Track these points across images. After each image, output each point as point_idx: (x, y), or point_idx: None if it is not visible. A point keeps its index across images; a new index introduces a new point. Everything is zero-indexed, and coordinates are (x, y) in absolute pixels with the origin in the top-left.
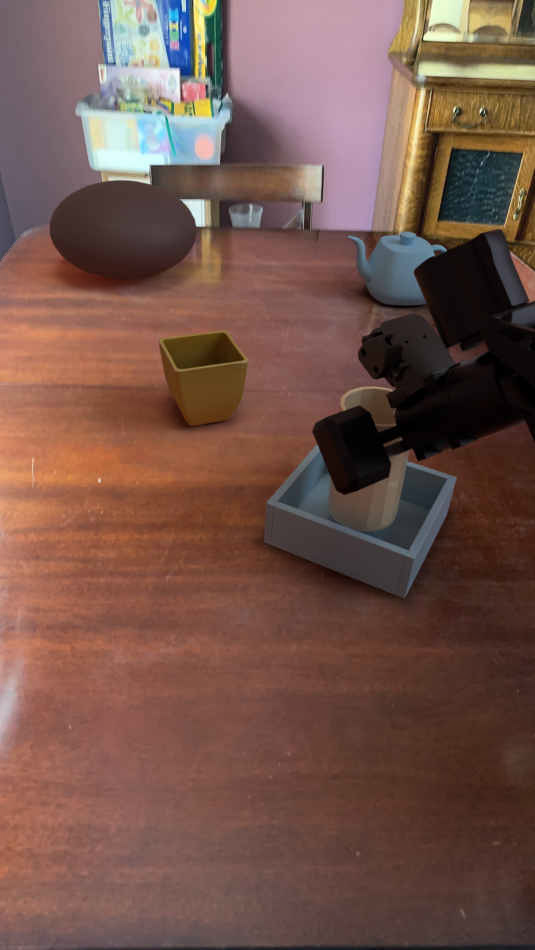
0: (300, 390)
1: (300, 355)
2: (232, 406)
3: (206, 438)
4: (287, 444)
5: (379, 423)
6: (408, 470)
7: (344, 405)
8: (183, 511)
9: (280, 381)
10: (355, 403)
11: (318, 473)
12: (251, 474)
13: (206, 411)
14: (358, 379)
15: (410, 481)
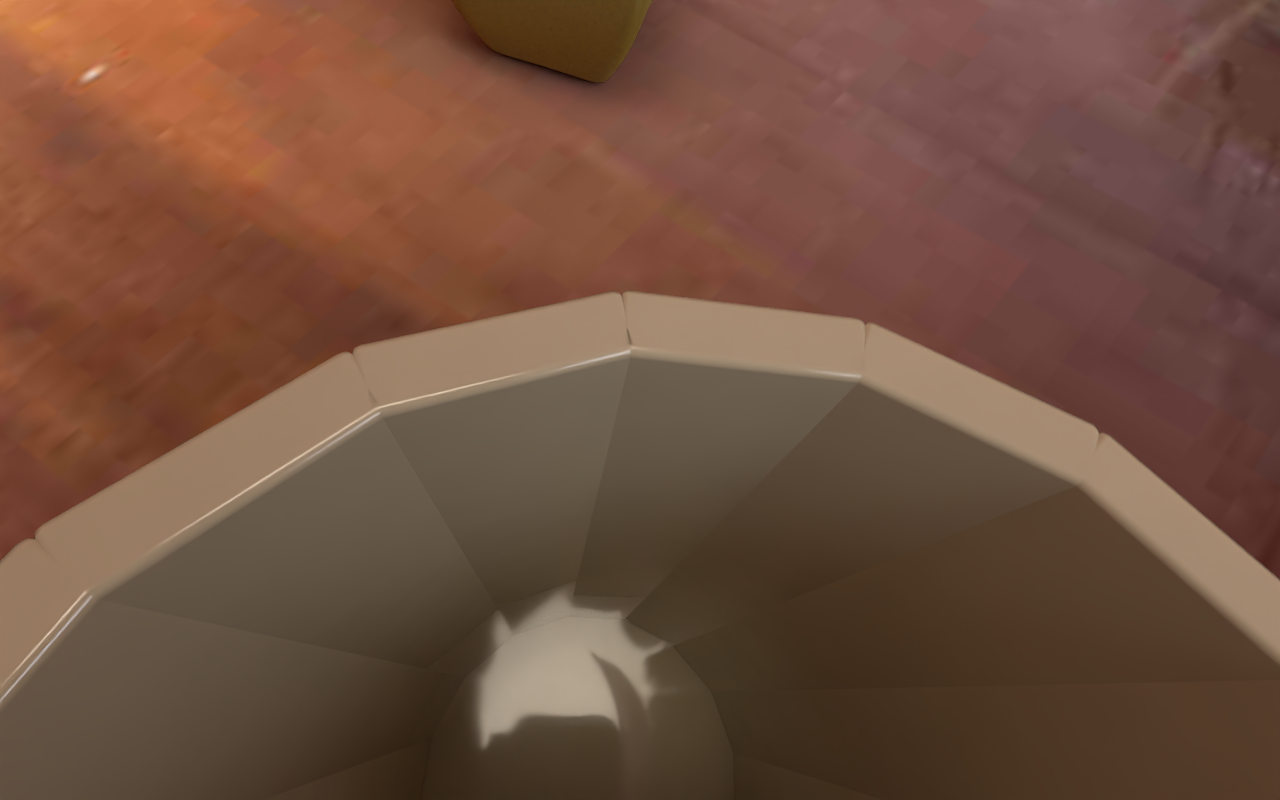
0: (882, 104)
1: (972, 11)
2: (602, 41)
3: (492, 106)
4: (684, 250)
5: (877, 668)
6: None
7: (29, 649)
8: (151, 303)
9: (853, 52)
10: (691, 461)
11: None
12: (478, 292)
13: (516, 18)
14: (1075, 157)
15: None
